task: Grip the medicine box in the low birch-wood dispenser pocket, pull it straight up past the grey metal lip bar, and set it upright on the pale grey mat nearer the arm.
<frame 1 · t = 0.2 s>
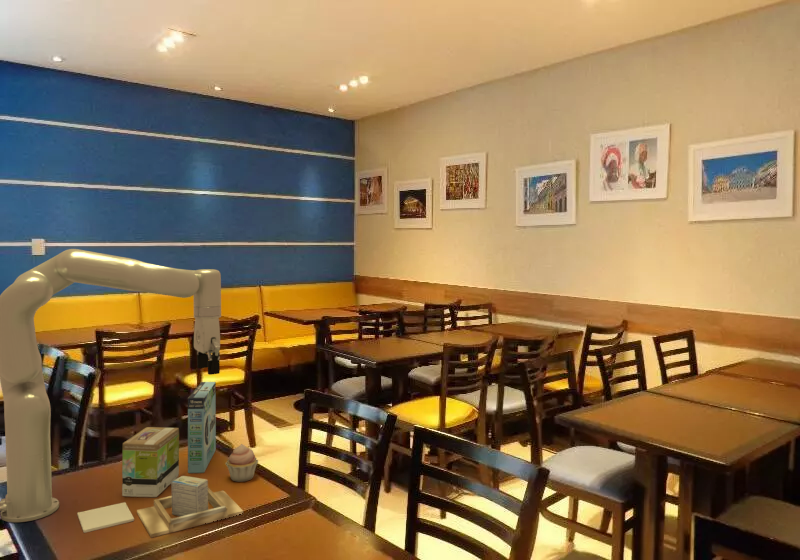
hand: (208, 370, 175), 31 cm above the table, tool pointing down, fingers open, 9 cm apart
dispenser: (190, 513, 152), on the table
cupcake: (242, 478, 175), on the table
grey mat: (105, 517, 149), on the table
tea box: (152, 487, 169), on the table
medicine box: (190, 514, 152), resting in dispenser
gum box: (202, 462, 188), on the table
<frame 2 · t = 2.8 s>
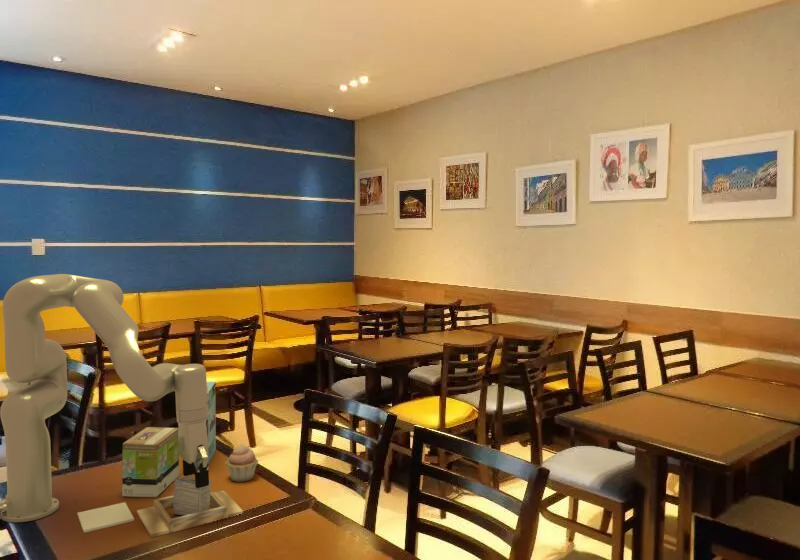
hand: (196, 480, 152), 8 cm above the table, tool pointing down, fingers open, 9 cm apart
medicine box: (190, 514, 152), resting in dispenser, touching gripper
everything else where it was.
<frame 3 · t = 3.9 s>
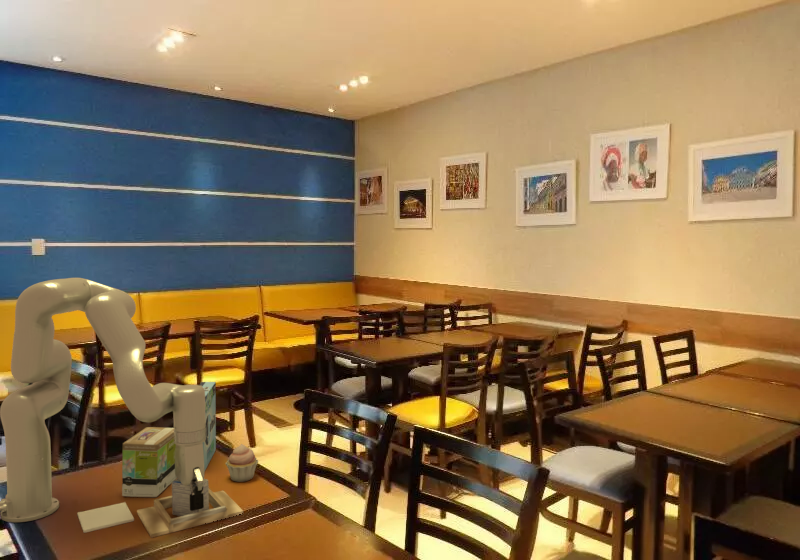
hand: (191, 502, 152), 3 cm above the table, tool pointing down, fingers closed on medicine box, 9 cm apart
medicine box: (190, 514, 152), resting in dispenser, touching gripper
everything else where it was.
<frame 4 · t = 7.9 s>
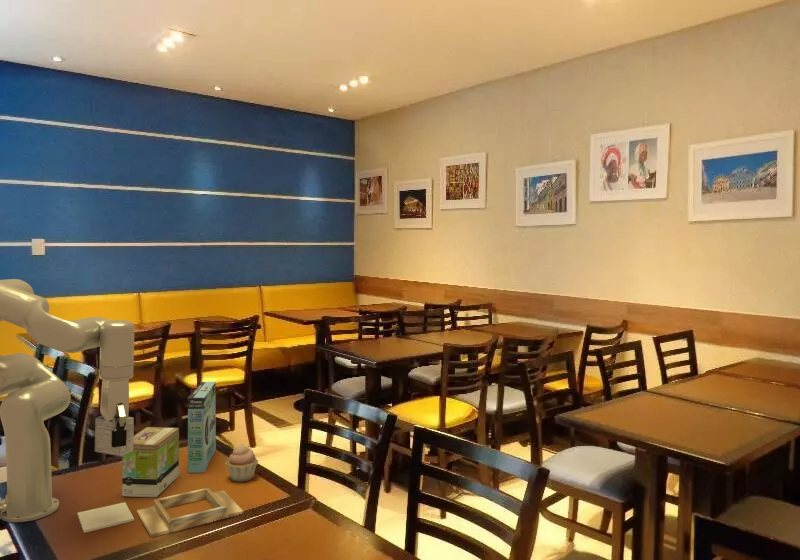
hand: (114, 440, 148), 19 cm above the table, tool pointing down, fingers closed on medicine box, 9 cm apart
medicine box: (113, 452, 149), point 16 cm above the table, touching gripper
everything else where it was.
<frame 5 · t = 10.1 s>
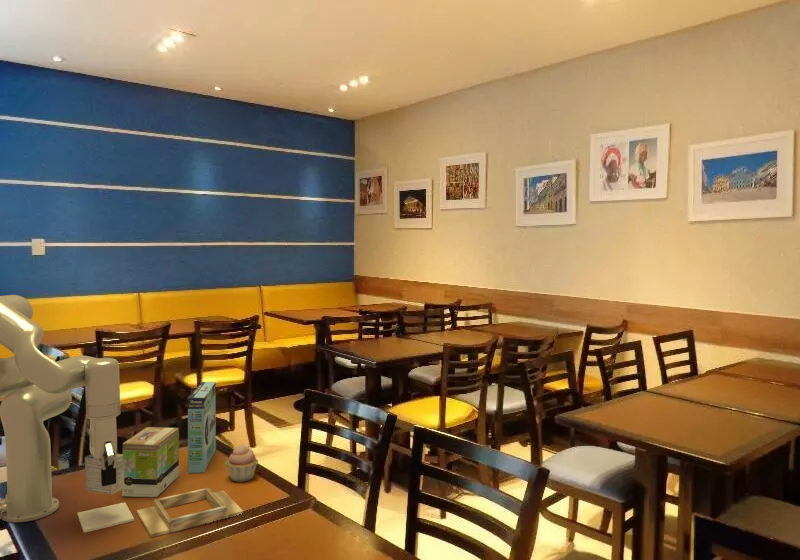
hand: (105, 478, 148), 10 cm above the table, tool pointing down, fingers closed on medicine box, 9 cm apart
medicine box: (105, 490, 149), point 7 cm above the table, touching gripper
everything else where it was.
when the fingers open (5 cm above the table, at t = 11.8 s): medicine box drops 1 cm, resting on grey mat.
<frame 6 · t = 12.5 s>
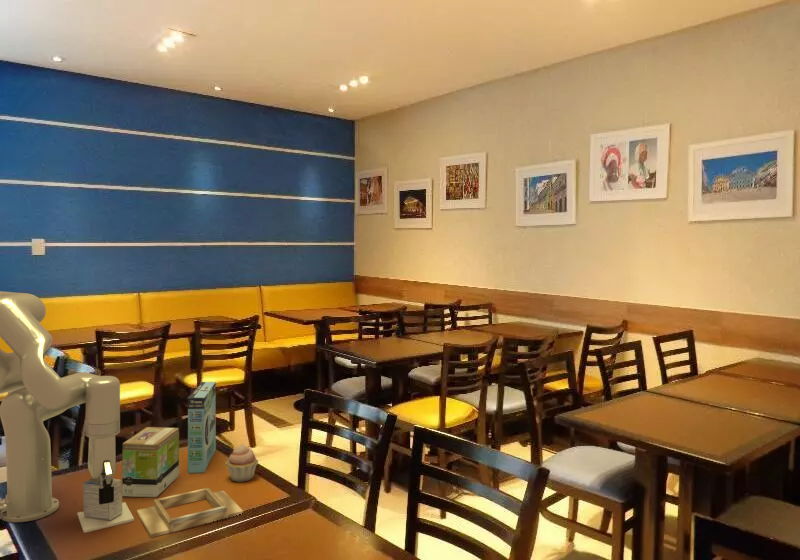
hand: (102, 495, 149), 6 cm above the table, tool pointing down, fingers open, 9 cm apart
medicine box: (103, 516, 149), point 1 cm above the table, touching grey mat, gripper
everything else where it was.
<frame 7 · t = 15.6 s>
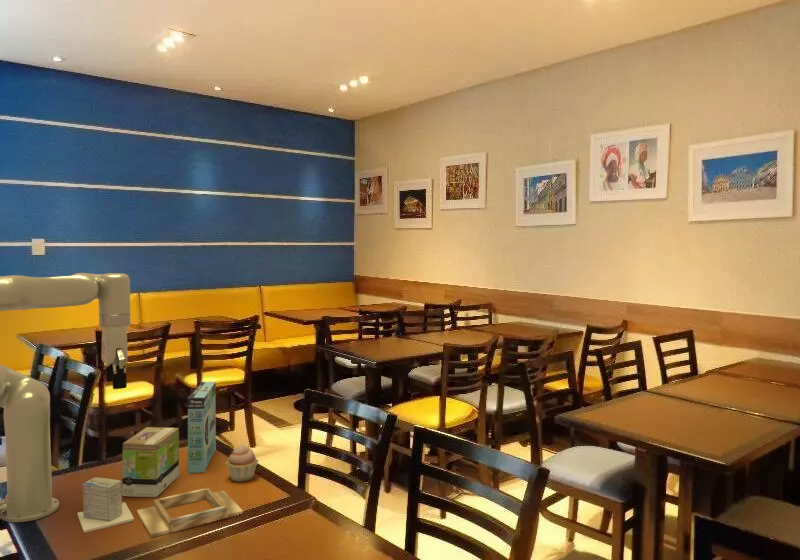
hand: (116, 384, 160), 30 cm above the table, tool pointing down, fingers open, 9 cm apart
medicine box: (102, 516, 149), resting on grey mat
everything else where it was.
at the end: medicine box inside the target area (0.5 cm from its centre), resting on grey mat; medicine box tilted 0°; the gripper is holding nothing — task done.
